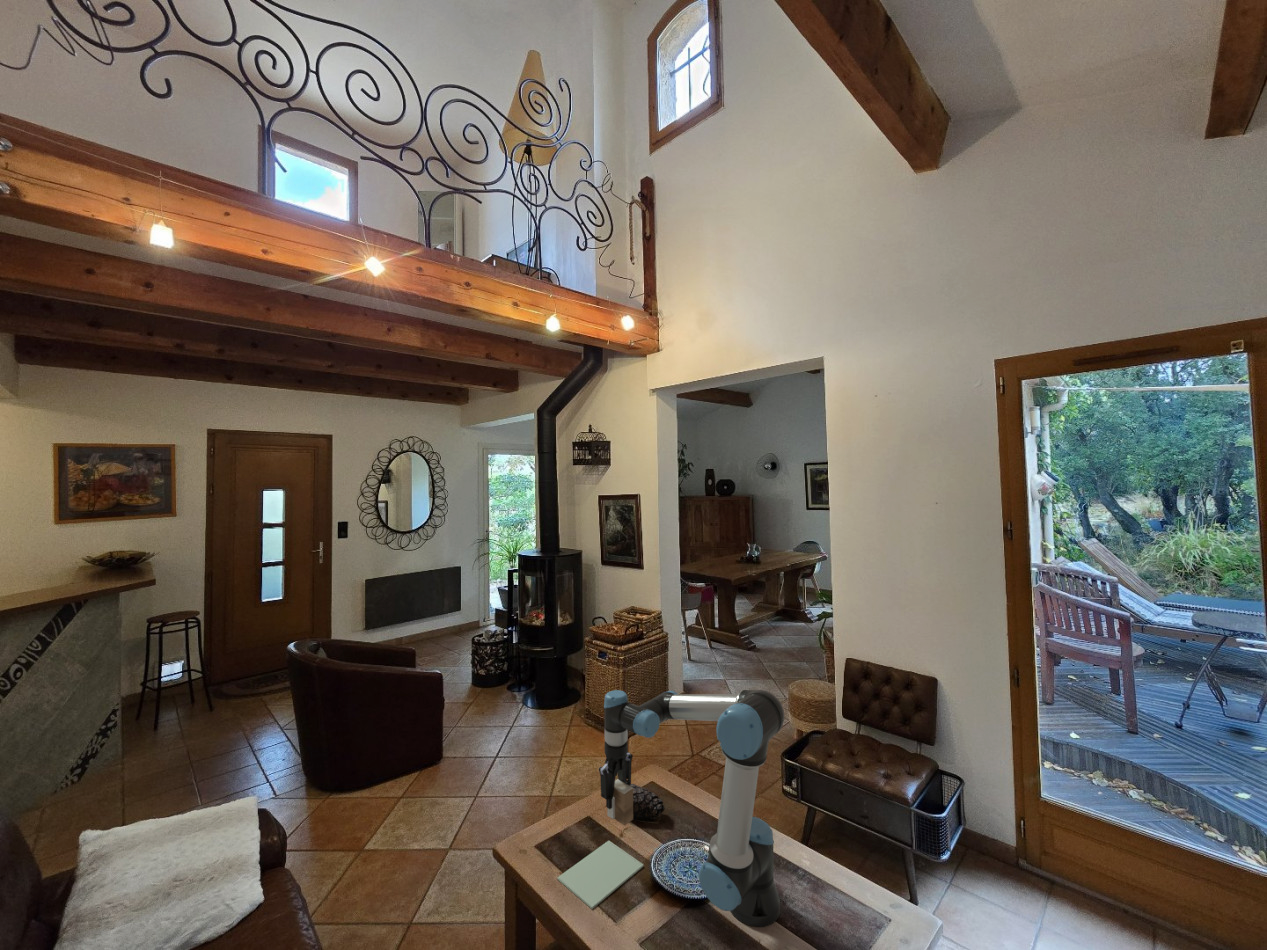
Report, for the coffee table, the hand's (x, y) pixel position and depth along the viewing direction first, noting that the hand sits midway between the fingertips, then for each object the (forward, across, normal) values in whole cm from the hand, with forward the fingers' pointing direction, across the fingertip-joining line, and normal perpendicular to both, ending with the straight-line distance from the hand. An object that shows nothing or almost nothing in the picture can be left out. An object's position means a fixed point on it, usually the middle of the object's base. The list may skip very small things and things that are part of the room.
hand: (616, 813), depth 163 cm
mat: (+15, +7, 0) cm, 17 cm away
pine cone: (+16, -22, -9) cm, 29 cm away
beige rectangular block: (0, 0, +2) cm, 2 cm away
